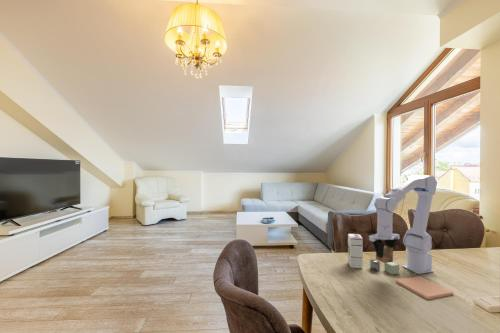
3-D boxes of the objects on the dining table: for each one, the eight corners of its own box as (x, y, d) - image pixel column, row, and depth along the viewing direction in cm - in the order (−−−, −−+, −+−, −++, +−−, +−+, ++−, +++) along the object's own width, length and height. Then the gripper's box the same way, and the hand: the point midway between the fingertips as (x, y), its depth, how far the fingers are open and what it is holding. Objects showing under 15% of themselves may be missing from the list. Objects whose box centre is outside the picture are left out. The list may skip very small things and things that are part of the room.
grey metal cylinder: (374, 267, 111) (375, 258, 111) (381, 271, 107) (382, 262, 107) (368, 268, 110) (368, 259, 110) (374, 272, 106) (374, 263, 106)
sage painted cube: (391, 269, 109) (391, 261, 109) (399, 273, 105) (399, 264, 105) (384, 270, 108) (384, 262, 108) (391, 274, 104) (392, 265, 104)
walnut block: (384, 257, 104) (384, 244, 104) (392, 261, 100) (393, 247, 100) (375, 258, 103) (376, 245, 103) (384, 263, 99) (384, 248, 99)
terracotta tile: (419, 278, 101) (419, 276, 101) (453, 294, 88) (453, 292, 88) (395, 282, 97) (395, 279, 97) (427, 299, 84) (427, 297, 84)
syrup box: (363, 268, 109) (363, 237, 109) (349, 267, 111) (350, 236, 111) (359, 263, 115) (360, 234, 115) (347, 262, 116) (347, 233, 116)
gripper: (378, 228, 95) (378, 261, 96) (406, 226, 100) (405, 258, 100) (365, 224, 102) (365, 255, 102) (392, 222, 106) (391, 252, 106)
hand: (384, 256), depth 101 cm, fingers closed on walnut block, 4 cm apart
